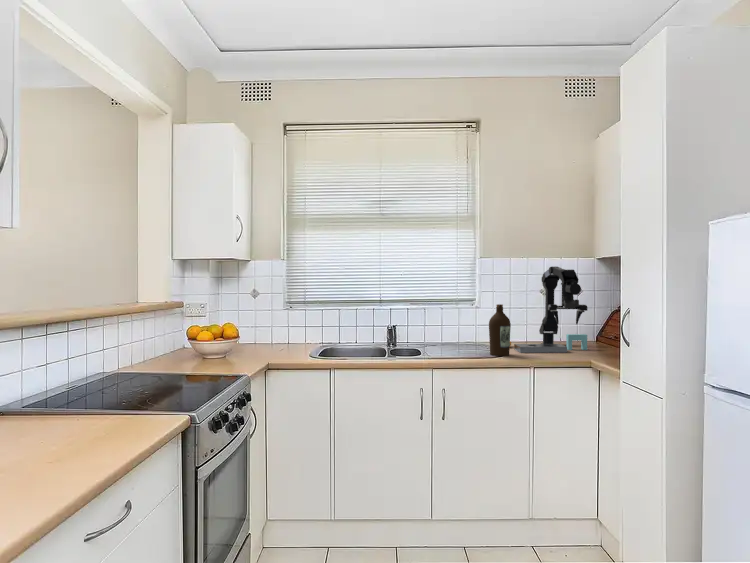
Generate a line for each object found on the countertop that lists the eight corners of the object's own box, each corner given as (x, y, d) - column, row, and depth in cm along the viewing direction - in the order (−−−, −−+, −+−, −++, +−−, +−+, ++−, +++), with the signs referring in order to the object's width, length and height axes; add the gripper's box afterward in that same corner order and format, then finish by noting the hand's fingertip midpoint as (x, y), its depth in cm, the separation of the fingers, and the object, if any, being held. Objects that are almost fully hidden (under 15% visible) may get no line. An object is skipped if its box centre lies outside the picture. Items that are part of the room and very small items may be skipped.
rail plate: (514, 349, 300) (514, 343, 300) (559, 349, 300) (559, 343, 300) (520, 352, 288) (520, 346, 288) (567, 352, 288) (567, 346, 288)
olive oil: (484, 354, 283) (484, 304, 283) (499, 352, 289) (499, 303, 288) (499, 356, 274) (499, 305, 274) (515, 355, 280) (515, 304, 280)
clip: (566, 349, 301) (566, 334, 300) (585, 349, 301) (585, 334, 301) (568, 350, 298) (568, 334, 297) (587, 349, 298) (587, 334, 298)
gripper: (551, 294, 284) (550, 325, 284) (590, 294, 281) (589, 326, 281) (547, 293, 295) (547, 323, 295) (585, 293, 292) (584, 323, 292)
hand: (567, 324), depth 291 cm, fingers open, 9 cm apart
